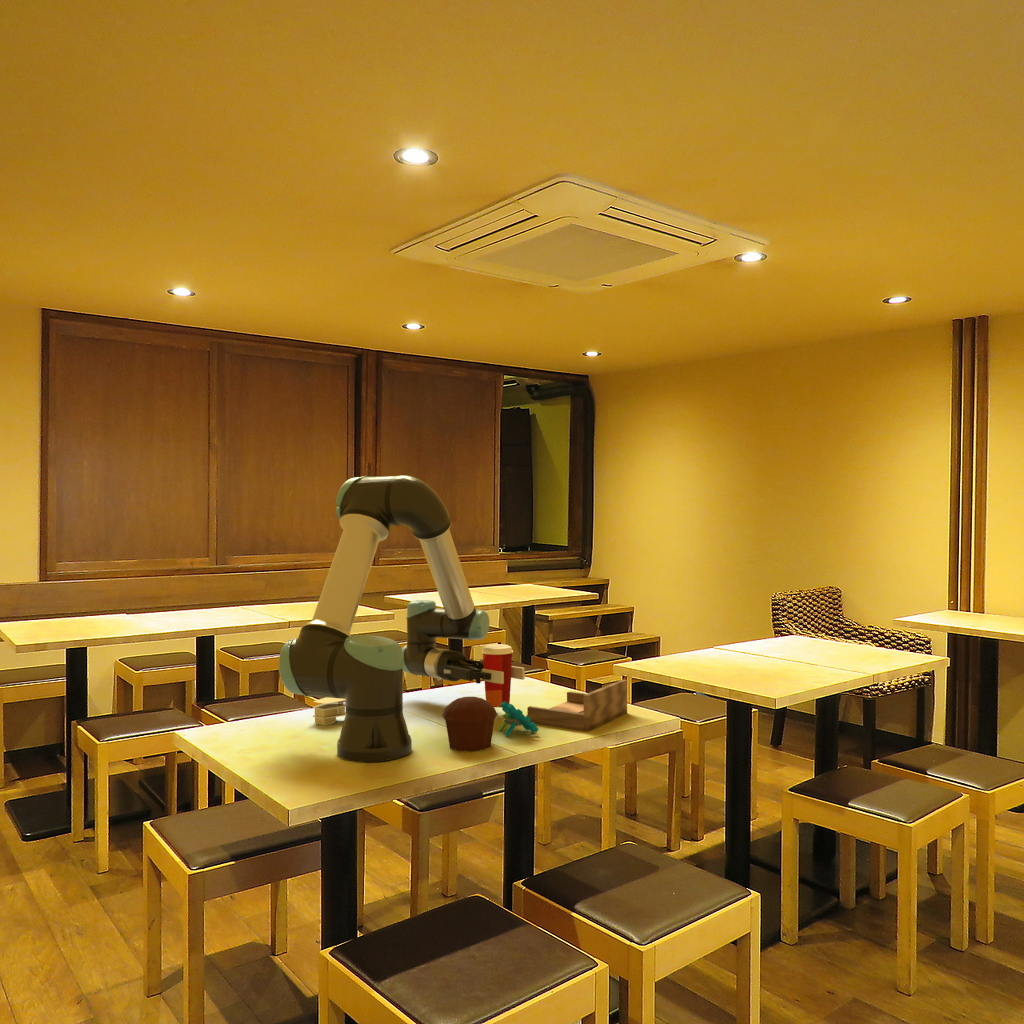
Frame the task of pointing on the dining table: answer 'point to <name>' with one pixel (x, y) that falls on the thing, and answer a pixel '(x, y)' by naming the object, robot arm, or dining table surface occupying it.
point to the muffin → (469, 724)
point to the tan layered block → (328, 710)
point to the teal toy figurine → (516, 719)
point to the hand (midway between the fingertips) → (513, 675)
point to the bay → (585, 708)
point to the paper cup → (498, 660)
